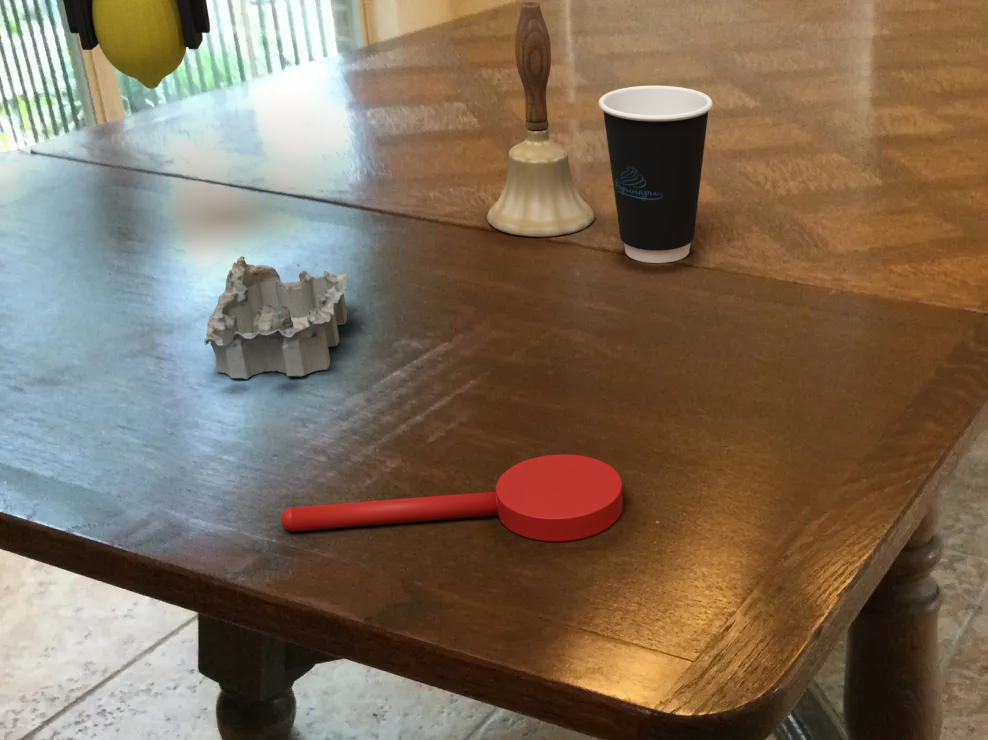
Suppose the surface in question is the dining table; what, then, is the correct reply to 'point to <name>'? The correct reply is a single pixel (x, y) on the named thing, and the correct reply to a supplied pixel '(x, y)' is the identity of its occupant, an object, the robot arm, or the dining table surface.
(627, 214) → the dixie cup
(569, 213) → the hand bell
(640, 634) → the dining table surface
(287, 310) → the egg carton
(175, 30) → the lemon
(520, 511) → the red lollipop
